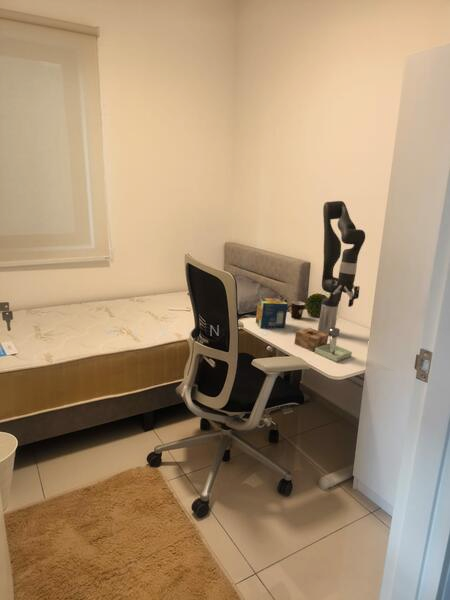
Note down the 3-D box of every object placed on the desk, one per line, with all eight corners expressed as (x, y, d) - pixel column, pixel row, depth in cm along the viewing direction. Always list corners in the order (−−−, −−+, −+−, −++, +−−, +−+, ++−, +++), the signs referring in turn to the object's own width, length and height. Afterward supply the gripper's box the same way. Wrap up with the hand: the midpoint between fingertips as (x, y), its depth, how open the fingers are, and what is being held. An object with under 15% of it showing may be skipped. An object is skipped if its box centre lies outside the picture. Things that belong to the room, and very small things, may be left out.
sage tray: (329, 347, 205) (330, 343, 204) (351, 356, 196) (352, 351, 195) (314, 353, 197) (315, 347, 196) (336, 362, 187) (337, 357, 186)
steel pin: (324, 353, 196) (327, 328, 193) (330, 351, 199) (333, 326, 196) (332, 356, 192) (335, 331, 189) (338, 354, 195) (341, 329, 192)
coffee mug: (301, 316, 256) (303, 301, 253) (304, 320, 247) (306, 305, 245) (283, 314, 255) (285, 300, 252) (286, 319, 247) (288, 304, 244)
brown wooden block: (308, 339, 214) (310, 327, 212) (326, 347, 206) (328, 334, 204) (294, 343, 206) (296, 331, 205) (312, 351, 198) (314, 339, 196)
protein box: (255, 322, 236) (257, 297, 231) (279, 322, 239) (282, 298, 235) (260, 328, 226) (263, 302, 222) (285, 328, 229) (288, 303, 225)
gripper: (330, 269, 187) (325, 301, 191) (356, 275, 177) (351, 309, 181) (338, 268, 192) (334, 299, 196) (365, 273, 182) (359, 307, 186)
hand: (342, 304), depth 189 cm, fingers open, 8 cm apart
